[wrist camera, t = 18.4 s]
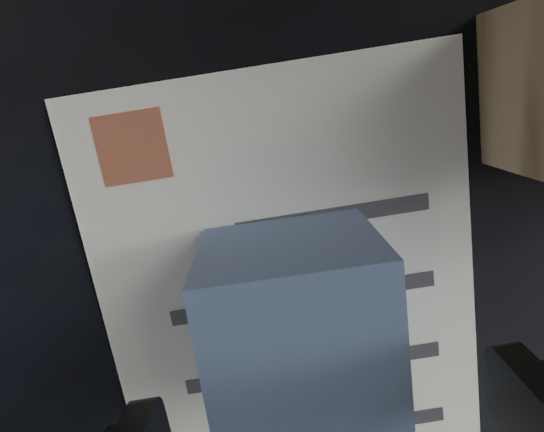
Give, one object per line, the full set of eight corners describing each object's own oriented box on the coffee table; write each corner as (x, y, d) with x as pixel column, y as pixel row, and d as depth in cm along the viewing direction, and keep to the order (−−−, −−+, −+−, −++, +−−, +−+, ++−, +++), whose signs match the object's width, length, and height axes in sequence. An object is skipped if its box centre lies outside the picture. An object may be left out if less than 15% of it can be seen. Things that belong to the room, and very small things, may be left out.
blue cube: (356, 207, 17) (404, 260, 12) (369, 344, 18) (416, 447, 13) (205, 229, 17) (181, 291, 12) (229, 363, 18) (218, 474, 13)
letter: (459, 34, 16) (462, 33, 15) (480, 473, 20) (482, 477, 20) (46, 99, 16) (43, 99, 16) (159, 522, 20) (158, 527, 20)
